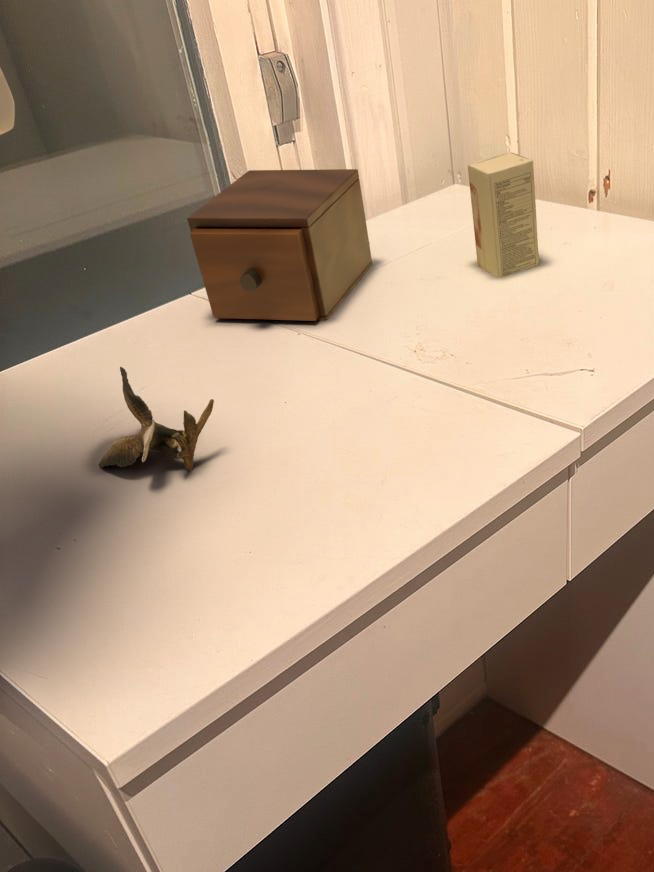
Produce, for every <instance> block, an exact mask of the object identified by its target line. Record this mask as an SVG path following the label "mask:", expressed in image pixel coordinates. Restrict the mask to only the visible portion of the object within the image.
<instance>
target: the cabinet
mask: <svg viewBox="0 0 654 872" xmlns="http://www.w3.org/2000/svg"><path fill="white" fill-rule="evenodd" d="M186 220H187V223H188V227H189V231H190V233H191V232H192V231H194V230H195V229H211V228H210V227H301V229H302V231H303V236H304V241H305V246H306V251H307V256H308V260H309V265H310V270H311V275H312V280H313V285H314V290H315V295H316V300H317V305H318V310H319V317H318V318H317V319H316V321H328V320H329V319H330V317H331V316H332V315H333V314H334V313H335V311H336V310H337V309H338V308H339V306H340V305H341V304H342V303H343V301H345V299H346V298H347V296H348V295H349V294H350V293H351V292H352V290H353V289H354V288H355V286H357V284H358V283H359V282H360V280H361V279H362V278H363V277H364V275H366V273H367V272H368V270H369V269H370V268H371V267H372V266H373V259H372V252H371V246H370V239H369V233H368V226H367V221H366V213H365V206H364V200H363V192H362V187H361V181H360V174H359V169H357V168H347V169H346V168H345V169H344V168H341V169H340V168H339V169H338V168H337V169H335V168H333V169H253V170H252V169H251V170H248V171H246V172H245V173H244V174H242V175H241V176H240V177H238V178H237V179H236V180H235V181H234V182H232V183H231V184H229V185H228V186H226V188H224V189H223V190H222V191H220V192H219V193H218V194H217V195H215V196H214V197H213V198H211V199H210V200H208V201H207V202H206V203H204V204H203V205H202V206H201V207H199V208H198V209H197V210H195V211H194V212H193V213H192V214H190V215H188V216H187V218H186Z"/></svg>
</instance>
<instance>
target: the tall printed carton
mask: <svg viewBox="0 0 654 872" xmlns="http://www.w3.org/2000/svg"><path fill="white" fill-rule="evenodd" d="M534 167H535V166H534V160H533V159H531V158H529V157H526V156H523V155H520V154H518V153H515V152H511V151H508V152H504V153H501V154H498V155H495V156H491V157H486V158H483V159H481V160H478V161H474V162H471V163H468V164H467V173H468V182H469V191H470V192H469V193H470V200H471V201H470V202H471V215H472V223H473V232H474V242H475V250H476V251H475V252H476V253H475V254H476V262H477V263H476V264H477V267H479V268H481V269H482V270H484V271H485V272H488V274H491V275H492V276H494V277H496V278H501V277H505V276H508V275H511V274H515V273H518V272H521V271H524V270H527V269H530V268H533V267H536V266H539V265H540V258H539V256H540V255H539V242H538V240H539V239H538V222H537V221H538V220H537V206H536V205H537V204H536V188H535V187H536V186H535V185H536V184H535V172H534V171H535V170H534Z"/></svg>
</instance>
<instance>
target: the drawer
mask: <svg viewBox="0 0 654 872" xmlns="http://www.w3.org/2000/svg"><path fill="white" fill-rule="evenodd" d="M210 228H211V229H195V230H194V231H192V232H191V231H190V233H189V235H190V240H191V243H192V246H193V249H194V253H195V257H196V260H197V261H196V262H197V264H198V268H199V271H200V274H201V278H202V282H203V285H204V288H205V292H206V295H207V299H208V303H209V306H210V309H211V313H212V317H213V318H214V319H234V320H235V319H236V320H237V319H239V320H268V321H269V320H271V321H272V320H273V321H274V320H275V321H278V320H279V321H308V322H309V321H311V322H315V321H317V320H316V319H317V318H318V317H319V310H318V305H317V300H316V295H315V290H314V285H313V280H312V275H311V270H310V265H309V260H308V256H307V251H306V246H305V241H304V236H303V231H302V229H301V227H210Z"/></svg>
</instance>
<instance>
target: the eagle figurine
mask: <svg viewBox="0 0 654 872" xmlns="http://www.w3.org/2000/svg"><path fill="white" fill-rule="evenodd" d="M119 371H120V376H121V380H122V395H123V398H124V401H125V404H126V406H127V408H128V410H129V412H130V413H131V414H132V415H133V417H134V418H135V419H136V420H137V421H138V422H139V424H140V430H139V432H138V433H136V434H133V435H125V436H121V437H118V438H117V439H116V440H114V441H112V443H111V445H110V446H109V447H108V450H107V451H106V453H105V454H104V456H103V457H102V458H101V460H100V461H99V463H98V467H99V468H100V469H103V468H104V467H109V466H117V467H120V468H123V467H125V468H126V467H128V466H132V465H133V463H135V462H136V460H137V458H138V457H140V456H141V453H142V457H141V462H142V463H144V462H146V460H147V457H148V455H149V452H155V453H160V454H161V455H163V456H165V457H169V458H171V459H176V460H182V461H183V466H184V468H185V469H186V470H187V471H188V472H191V471H193V470H194V463H195V461H194V458H195V451H196V447H197V443H198V439H199V436H200V435H201V432H202V431H203V429H204V428H205V426H206V423H207V421H208V420H209V418H210V416H211V414H212V412H213V408H214V402H215V400H214V399H213V398H211V399H209V401H208V404H207V406H206V407H205V409H204V410H203V411H202V413H201V415H200V417H199V419H198V421H196V418H195V416H194V415H192V414H191V413H189V412H188V411H187V410H183V422H182V424H183V430H182V429H181V430H180V429H175V428H170V427H167V426H166V425H164V424H162V423H158V422H157V421H155V419H153V413H152V410H151V409H150V408H149V406H148V405H147V403H146V402H145V401H144V400H143V398H142V397H141V396H140V395H138V394H135V393H134V390H133V389H132V385H131V384H130V383H129V378H128V372H127V371H126V369H125V368H124V367H122V366H120V367H119ZM178 446H179V448H180V451H179V450H178V449H176V448H177V447H178Z"/></svg>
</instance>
